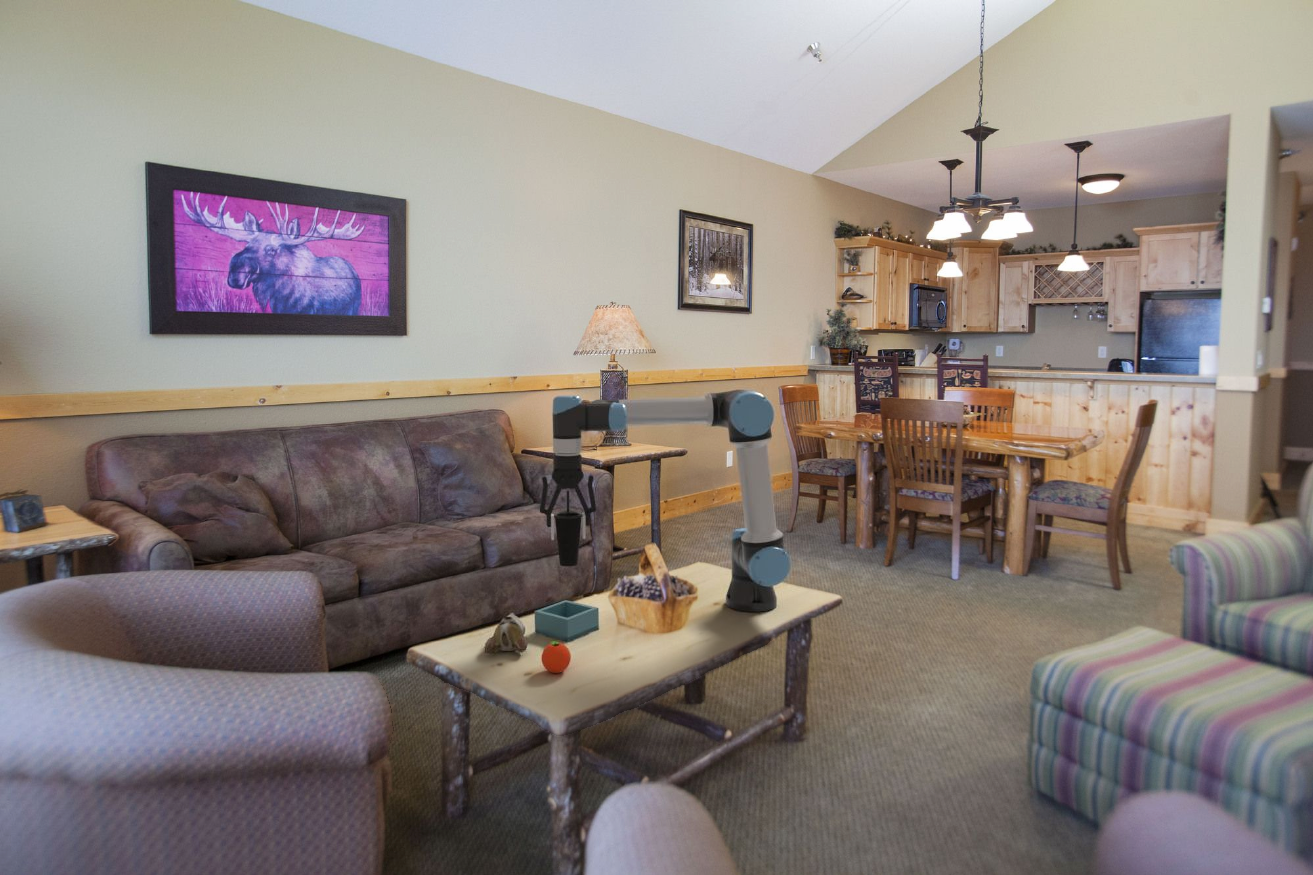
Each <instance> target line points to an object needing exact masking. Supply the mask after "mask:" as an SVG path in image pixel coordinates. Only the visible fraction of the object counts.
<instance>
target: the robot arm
mask: <svg viewBox="0 0 1313 875" xmlns="http://www.w3.org/2000/svg"><path fill="white" fill-rule="evenodd" d="M773 407H774V406H773V405H772V403H771V401H770V400H769V399H768V398H767V397H766V396H765V395H763V394H761V393H760V392H757V391H754V390H745V389H735V390H734V389H733V390H728V391H724V392H723V391H722V392H712V393H710V392H709V393H706V395H705V396H698V397H697V396H696V397H694V396H693V397H689V396H688V397H667V398H666V397H665V398H663V397H662V398H660V397H659V398H635V399H634V398H633V399H629V398H628V399H607V400H605V399H595V400H592V401H591V402H589V403H588V402H583V401H582V398H581V396H580V395H557V396H555V397H554V398H553V399H552V414H551V416H552V452H553V453H554V454H553V456H552V459H553V460H552V466H553V468H552V470H553V471H552V472H551V474H548V475H542V476H541V480H542V491H541V498H540V503H539V504H540V505H539V513H540V514H543V515H546V527H547V528H550V535H551V536H550V539H551V541H554V540H555V517H554V514H555V513H553V511H554V508H555V505H556V504H557V500H558V498H559V495H560V493H561V491H562V490H566V489H570V490H575V493H576V495H577V497H578V500H579V501H580V504H581V507H582V509H583V511H584V512H581V513H582V517H581V526H582V528H581V534H582V535H581V537H582V540H586V538H587V537H586V532H587V530H586V527H588V526H590V523H591V520H590V518H591V517H590V515H591V514H592V513H595V512H597V507H596V505H597V504H596V501H595V500H596V499H595V494H594V492H595V491H594V487H593V482H594V475H593V474H591V473H590V474H585V473H584V472H583V470H582V469H583V468H582V465H583V464H582V462H583V461H582V459H583V457H582V454H581V453H582V432H613V433H614V432H617V431H624V430H625V429H626V427H627V426H629V427H630V426H631V427H633V426H635V427H636V426H662V425H689V424H690V425H694V424H696V425H697V424H705V425H706V426H707V427H710V428H711V427H719V428H720V427H721V428H724V429H725V428H726V429H727V430H728V439H729V444H731V445H732V446H733V447H735V451H736V458H737V459H736V460H737V467H738V476H739V477H738V478H739V484H740V494H741V501H742V509H743V511H742V512H743V519H744V526H745V527H741V528H736V529H733V531H732V532H731V539H730V541H731V580H730V583H729V586H728V589H727V592H726V594H725V605H726V606H727V607H728V608H730V609H732V610H735V611H739V612H747V613H760V612H766V611H767V612H768V611H771V610H773V609H775V608H777V606H778V605H777V604H778V603H777V602H778V598H777V594H776V591H775V588H774V587H775V586H778V585H779V584H781V583H782V582H783V581H785V579H786V578H787V577H788V576H789V574H790V571H791V567H792V562H791V559H790V556H789V555H788V552H787V551H786V550H785V543H784V533H783V532H782V531H781V530H779V529H778V528H777V520H776V512H775V511H776V510H775V505H774V504H775V502H774V494H773V485H772V475H771V467H770V459H769V449H768V448H769V447H768V444H769V442H770V441H771V440H772V438H773V435H772V426H773V423H774V419H775V411H774V408H773ZM583 479H584V482H585V483H586V485H587V490H588V496H589V497H588V498H589V502H590V507H588V505H587V502H586V500H585V496H584V495H583V493H582V491H581V489H580V486H579V484H580V483H581V482H582V480H583ZM551 480H553V481H554V482H555V484H556V487H555V490H554V492H553V495H552V496H551V499H550V502H549V504H548V506H547V508H546V502H547V496H548V495H547V494H548V488H549V484H550V483H551Z"/></svg>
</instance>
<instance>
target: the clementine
mask: <svg viewBox="0 0 1313 875" xmlns="http://www.w3.org/2000/svg"><path fill="white" fill-rule="evenodd" d="M571 659H572V654H571V652H570V649H569V647H567V646H566V645H565V644H564V643H561V642H558V641H551V642H550V643H549V644H548V645H546V646H545V648H544V649H543V650H542V654H541V659H540V660H541V663H542V666H543V668H544V669H545V670H546V671H548V672H550V673H551V674H552V673H553V674H554V673H555V674H557V673H562V672H563V671H565V670H566V669H567V668H568V667H569V665H570V663H571Z"/></svg>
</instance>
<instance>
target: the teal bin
mask: <svg viewBox="0 0 1313 875" xmlns="http://www.w3.org/2000/svg"><path fill="white" fill-rule="evenodd" d="M599 613H600V612H599V607H597V606H592V605H587V604H585V603H584V604H583V603H579V602H574V601H571V600H567V599H566V600H562V601H558V602H557V603H554V604H551V605H548V606H545V607H543V608H540V609H537V610H534V633H535V634H538V635H542V636H545V637H549V638H552V639H556V640H559V641H563V642H566V643H570V642H572V641H575V640H577V639H579V638H583V636H586V635H588V634H591V633H594V632H595V631H598V630H600V622H599V619H600V618H599V617H600V616H599V615H600V614H599Z"/></svg>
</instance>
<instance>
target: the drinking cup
mask: <svg viewBox="0 0 1313 875" xmlns="http://www.w3.org/2000/svg"><path fill="white" fill-rule="evenodd" d="M582 513H583V512H579V511H577V510H575V509H570V490H566V509H563V510H560V511H558V512H556V513H553V514H554V524H555V532H556V541H557V551H558V552H557V553H558V560H559V562H558V563H559V566H561V567H575V566H577V565H578V564H579V553H580V540H581V530H582V528H581V526H582Z"/></svg>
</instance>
